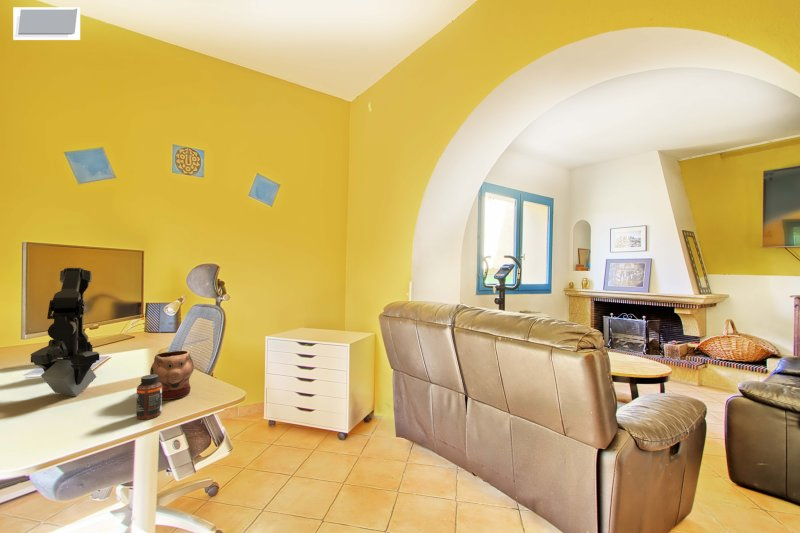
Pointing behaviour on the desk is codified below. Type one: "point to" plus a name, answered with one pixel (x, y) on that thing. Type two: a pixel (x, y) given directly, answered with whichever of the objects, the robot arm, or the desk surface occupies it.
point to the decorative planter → (173, 373)
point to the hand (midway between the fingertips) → (65, 384)
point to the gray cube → (66, 378)
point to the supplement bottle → (149, 397)
